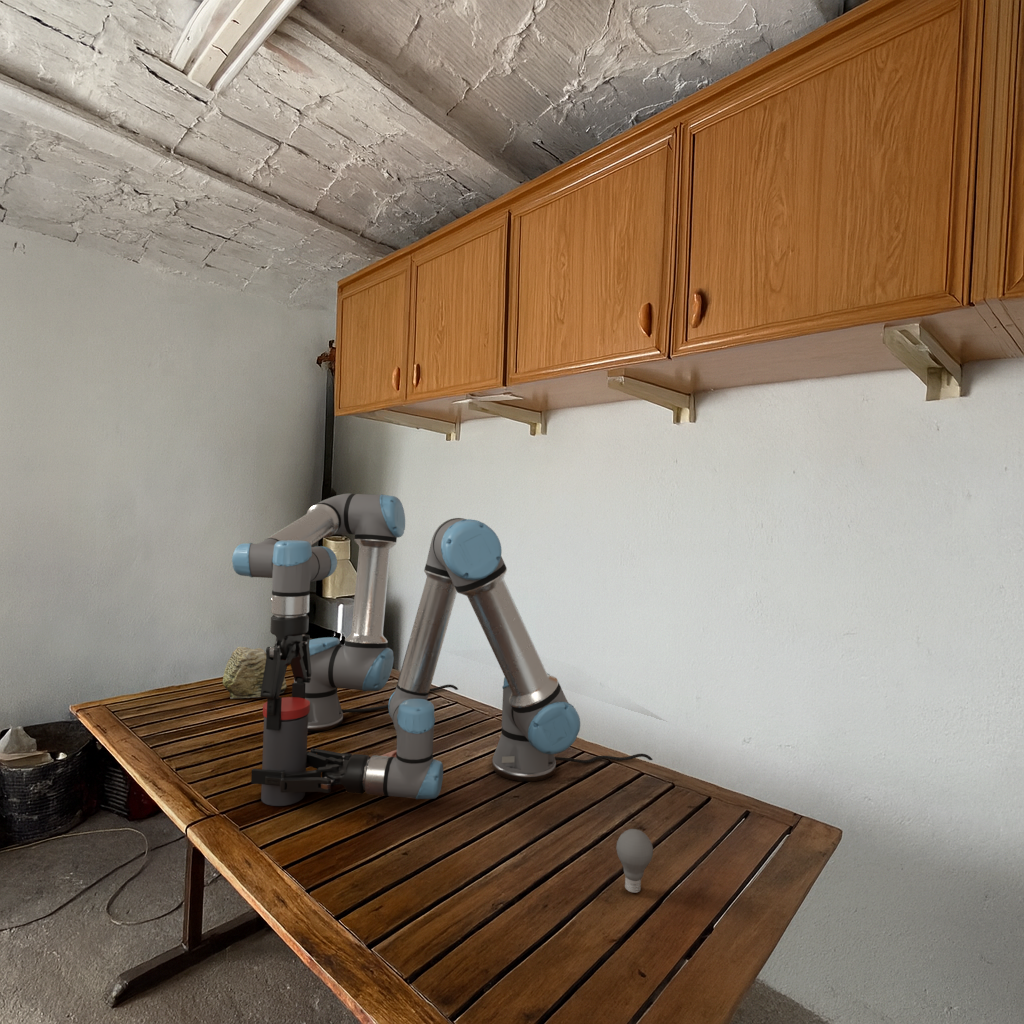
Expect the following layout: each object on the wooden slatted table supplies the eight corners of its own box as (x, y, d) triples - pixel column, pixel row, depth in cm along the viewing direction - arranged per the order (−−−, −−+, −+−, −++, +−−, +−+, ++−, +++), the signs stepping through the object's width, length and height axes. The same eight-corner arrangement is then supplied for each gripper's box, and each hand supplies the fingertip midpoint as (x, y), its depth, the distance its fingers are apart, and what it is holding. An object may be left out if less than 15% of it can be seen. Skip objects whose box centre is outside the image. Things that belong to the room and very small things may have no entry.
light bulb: (610, 879, 108) (613, 822, 108) (644, 879, 109) (647, 822, 109) (619, 902, 102) (622, 840, 102) (655, 901, 103) (658, 840, 103)
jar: (306, 785, 139) (309, 700, 138) (303, 804, 130) (307, 713, 130) (263, 788, 136) (267, 701, 136) (258, 807, 128) (261, 715, 128)
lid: (255, 719, 128) (255, 710, 128) (273, 704, 138) (273, 696, 138) (300, 721, 128) (301, 712, 128) (315, 706, 138) (316, 698, 138)
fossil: (218, 695, 195) (220, 647, 195) (278, 685, 208) (279, 640, 207) (228, 703, 189) (230, 653, 188) (289, 692, 201) (290, 645, 201)
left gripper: (299, 605, 144) (295, 703, 144) (243, 622, 122) (239, 738, 123) (330, 607, 143) (326, 706, 143) (279, 625, 121) (274, 742, 122)
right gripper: (349, 818, 121) (236, 808, 123) (381, 770, 143) (284, 763, 144) (351, 779, 121) (237, 770, 123) (383, 737, 142) (286, 730, 144)
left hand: (286, 720), depth 133 cm, fingers closed on lid, 9 cm apart
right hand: (263, 766), depth 134 cm, fingers closed on jar, 9 cm apart
